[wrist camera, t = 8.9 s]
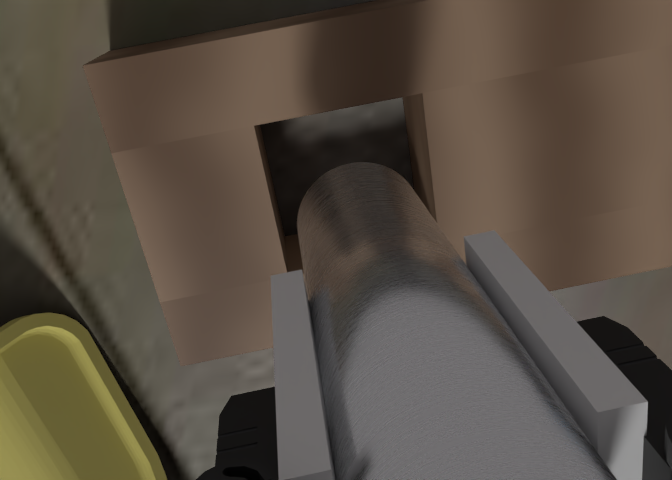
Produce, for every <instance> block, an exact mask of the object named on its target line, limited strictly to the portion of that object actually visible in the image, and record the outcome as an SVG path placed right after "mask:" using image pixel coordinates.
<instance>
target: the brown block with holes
mask: <svg viewBox="0 0 672 480" xmlns="http://www.w3.org/2000/svg"><path fill="white" fill-rule="evenodd" d="M83 68H84V71H85V74H86V77H87V80H88V83H89V86H90V89H91V92H92V95H93V98H94V102H95V105H96V108H97V111H98V114H99V117H100V120H101V123H102V126H103V129H104V132H105V135H106V138H107V141H108V144H109V148H110V151H111V154H112V157H113V160H114V163H115V166H116V169H117V172H118V175H119V178H120V181H121V184H122V187H123V190H124V193H125V197H126V200H127V203H128V206H129V209H130V212H131V215H132V218H133V221H134V224H135V227H136V230H137V233H138V236H139V239H140V243H141V246H142V249H143V252H144V255H145V258H146V261H147V264H148V267H149V270H150V273H151V276H152V279H153V282H154V285H155V288H156V292H157V295H158V298H159V301H160V304H161V307H162V310H163V313H164V316H165V319H166V322H167V325H168V328H169V331H170V334H171V338H172V341H173V344H174V347H175V350H176V353H177V356H178V359H179V362H180V365H181V366H185V365H190V364H195V363H200V362H205V361H210V360H214V359H219V358H224V357H229V356H234V355H239V354H244V353H249V352H254V351H259V350H264V349H268V348H273V325H272V300H271V276H272V275H277V274H282V273H287V272H292V271H297V270H301V269H302V272H303V277H304V271H303V265H302V258H301V251H300V244H299V238H298V234H295V235H290V236H285V235H284V231H283V226H282V222H281V217H280V213H279V208H278V204H277V199H276V195H275V190H274V186H273V181H272V177H271V172H270V168H269V163H268V159H267V154H266V150H265V145H264V141H263V136H262V132H261V127H260V124H266V123H271V122H276V121H281V120H286V119H291V118H297V117H302V116H307V115H312V114H317V113H322V112H328V111H333V110H338V109H343V108H348V107H353V106H359V105H364V104H369V103H374V102H379V101H385V100H390V99H395V98H400V97H403V104H404V112H405V120H406V128H407V136H408V144H409V152H410V160H411V168H412V176H413V184H414V191H415V193H416V194H417V195H418V197H419V198H420V200H421V201H422V203H423V204H424V205H425V207H426V208H427V210H428V211H429V213H430V214H431V215H432V217H433V218H434V220H435V221H436V223H437V224H438V225H439V227H440V228H441V230H442V231H443V233H444V234H445V235H446V237H447V238H448V240H449V241H450V243H451V244H452V245H453V247H454V248H455V250H456V251H457V252H458V254H459V255H460V257H461V258H462V260H463V261H464V262H465V264H466V256H465V246H464V236H469V235H474V234H479V233H484V232H488V231H493V230H495V232H496V233H497V234H498V235H499V236H500V237H501V238H502V239H503V241H504V242H505V243H506V244H507V245H508V246H509V247H510V248H511V249H512V251H513V252H514V253H515V254H516V255H517V256H518V257H519V258H520V259H521V261H522V262H523V263H524V264H525V265H526V266H527V267H528V268H529V269H530V271H531V272H532V273H533V274H534V275H535V276H536V277H537V278H538V280H539V281H540V282H541V283H542V284H543V285H544V286H545V287H546V288H547V290H548V291H553V290H558V289H563V288H568V287H573V286H578V285H582V284H587V283H592V282H597V281H602V280H607V279H612V278H617V277H622V276H627V275H631V274H636V273H641V272H646V271H651V270H656V269H661V268H666V267H671V266H672V0H376V1H371V2H366V3H360V4H355V5H350V6H345V7H339V8H334V9H329V10H323V11H318V12H313V13H307V14H302V15H297V16H291V17H286V18H281V19H276V20H270V21H265V22H260V23H254V24H249V25H244V26H238V27H233V28H228V29H223V30H217V31H212V32H207V33H201V34H196V35H191V36H185V37H180V38H175V39H170V40H164V41H159V42H154V43H148V44H143V45H138V46H132V47H127V48H122V49H117V50H111V51H108V52H107V53H105V54H103V55H101V56H99V57H97V58H96V59H94V60H92V61H90V62H88V63H86V64H85V65H83ZM304 281H305V278H304ZM305 286H306V285H305Z"/></svg>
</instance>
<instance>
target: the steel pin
mask: <svg viewBox="0 0 672 480" xmlns="http://www.w3.org/2000/svg"><path fill="white" fill-rule="evenodd" d="M297 231H298V238H299V244H300V251H301V258H302V265H303V271H304V278H305V285H306V291H307V295H308V300H309V306H310V312H311V319H312V325H313V332H314V339H315V345H316V352H317V358H318V365H319V372H320V378H321V385H322V392H323V398H324V405H325V411H326V418H327V425H328V431H329V438H330V444H331V451H332V458H333V464H334V471H335V478H336V480H617V479H616V478H615V476H614V475H613V474H612V472H611V471H610V469H609V468H608V466H607V465H606V464H605V462H604V461H603V459H602V458H601V456H600V455H599V454H598V452H597V451H596V449H595V448H594V447H593V445H592V444H591V442H590V441H589V439H588V438H587V437H586V435H585V434H584V432H583V431H582V429H581V428H580V427H579V425H578V424H577V422H576V421H575V419H574V418H573V417H572V415H571V414H570V412H569V411H568V409H567V408H566V407H565V405H564V404H563V402H562V401H561V399H560V398H559V397H558V395H557V394H556V392H555V391H554V389H553V388H552V387H551V385H550V384H549V382H548V381H547V379H546V378H545V377H544V375H543V374H542V372H541V371H540V369H539V368H538V367H537V365H536V364H535V362H534V361H533V359H532V358H531V357H530V355H529V354H528V352H527V351H526V349H525V348H524V347H523V345H522V344H521V342H520V341H519V340H518V338H517V337H516V335H515V334H514V332H513V331H512V330H511V328H510V327H509V325H508V324H507V322H506V321H505V320H504V318H503V317H502V315H501V314H500V312H499V311H498V310H497V308H496V307H495V305H494V304H493V302H492V301H491V300H490V298H489V297H488V295H487V294H486V292H485V291H484V290H483V288H482V287H481V285H480V284H479V282H478V281H477V280H476V278H475V277H474V275H473V274H472V272H471V271H470V270H469V268H468V267H467V265H466V264H465V262H464V261H463V260H462V258H461V257H460V255H459V254H458V252H457V251H456V250H455V248H454V247H453V245H452V244H451V243H450V241H449V240H448V238H447V237H446V235H445V234H444V233H443V231H442V230H441V228H440V227H439V225H438V224H437V223H436V221H435V220H434V218H433V217H432V215H431V214H430V213H429V211H428V210H427V208H426V207H425V205H424V204H423V203H422V201H421V200H420V198H419V197H418V195H417V194H416V193H415V191H414V190H413V188H412V187H411V186H410V184H409V183H408V182H407V181H406V180H405V179H404V178H403V177H402V176H401V175H400V174H398V173H397V172H396V171H394V170H392V169H390V168H388V167H386V166H383V165H380V164H376V163H369V162H355V163H349V164H345V165H341V166H339V167H336V168H334V169H332V170H330V171H328V172H327V173H325V174H324V175H322V176H321V177H320V178H318V179H317V180H316V181H315V182H314V183H313V184H312V186H311V187H310V188H309V189H308V191H307V192H306V194H305V196H304V197H303V200H302V202H301V204H300V207H299V211H298V217H297Z"/></svg>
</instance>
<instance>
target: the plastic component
mask: <svg viewBox="0 0 672 480" xmlns="http://www.w3.org/2000/svg"><path fill="white" fill-rule="evenodd" d="M0 480H167V477H166V474H165V472H164V469H163V467H162V464H161V461H160V459H159V456H158V454H157V452H156V450H155V449H154V447H153V445H152V443H151V441H150V440H149V438H148V436H147V434H146V433H145V431H144V429H143V427H142V426H141V424H140V422H139V420H138V418H137V417H136V415H135V413H134V411H133V410H132V408H131V406H130V404H129V403H128V401H127V399H126V397H125V395H124V394H123V392H122V390H121V388H120V387H119V385H118V383H117V381H116V380H115V378H114V376H113V374H112V372H111V371H110V369H109V367H108V365H107V364H106V362H105V360H104V358H103V357H102V355H101V353H100V351H99V349H98V348H97V346H96V344H95V342H94V341H93V339H92V337H91V335H90V334H89V332H88V330H87V329H85V328H84V327H83V326H82V325H81V324H80V323H79V322H77V321H76V320H74V319H72V318H70V317H68V316H65V315H62V314H56V313H39V314H32V315H27V316H22V317H19V318H16V319H14V320H11V321H9V322H8V323H6V324H5V325H3V326H2V327H0Z"/></svg>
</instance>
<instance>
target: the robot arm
mask: <svg viewBox="0 0 672 480" xmlns="http://www.w3.org/2000/svg"><path fill="white" fill-rule="evenodd" d="M464 246H465V256H466V265H467V267H468V268H469V270H470V271H471V272H472V274H473V275H474V277H475V278H476V280H477V281H478V282H479V284H480V285H481V287H482V288H483V290H484V291H485V292H486V294H487V295H488V297H489V298H490V300H491V301H492V302H493V304H494V305H495V307H496V308H497V310H498V311H499V312H500V314H501V315H502V317H503V318H504V320H505V321H506V322H507V324H508V325H509V327H510V328H511V330H512V331H513V332H514V334H515V335H516V337H517V338H518V340H519V341H520V342H521V344H522V345H523V347H524V348H525V349H526V351H527V352H528V354H529V355H530V357H531V358H532V359H533V361H534V362H535V364H536V365H537V367H538V368H539V369H540V371H541V372H542V374H543V375H544V377H545V378H546V379H547V381H548V382H549V384H550V385H551V387H552V388H553V389H554V391H555V392H556V394H557V395H558V397H559V398H560V399H561V401H562V402H563V404H564V405H565V407H566V408H567V409H568V411H569V412H570V414H571V415H572V417H573V418H574V419H575V421H576V422H577V424H578V425H579V427H580V428H581V429H582V431H583V432H584V434H585V435H586V437H587V438H588V439H589V441H590V442H591V444H592V445H593V447H594V448H595V449H596V451H597V452H598V454H599V455H600V456H601V458H602V459H603V461H604V462H605V464H606V465H607V466H608V468H609V469H610V471H611V472H612V474H613V475H614V476H615V478H616V479H617V480H672V370H671V369H670V368H669V367H668V366H667V365H666V364H664V363H663V362H662V361H661V360H660V359H657V356H656V355H655V354H654V353H653V352H652V351H651V350H650V349H649V348H648V347H647V346H644V344H643V342H642V341H641V340H640V339H639V338H638V337H637V336H636V335H635V334H634V333H633V332H632V331H631V330H630V329H629V328H628V327H626V326H624V325H621V324H619V323H617V322H615V321H613V320H611V319H609V318H607V317H605V316H602V317H597V318H592V319H587V320H583V321H578V322H576V321H575V320H574V319H573V317H572V316H571V315H570V314H569V313H568V312H567V311H566V310H565V309H564V307H563V306H562V305H561V304H560V303H559V302H558V301H557V300H556V298H555V297H554V296H553V295H552V294H551V293H550V292H549V291H548V290H547V288H546V287H545V286H544V285H543V284H542V283H541V282H540V281H539V280H538V278H537V277H536V276H535V275H534V274H533V273H532V272H531V271H530V269H529V268H528V267H527V266H526V265H525V264H524V263H523V262H522V261H521V259H520V258H519V257H518V256H517V255H516V254H515V253H514V252H513V251H512V249H511V248H510V247H509V246H508V245H507V244H506V243H505V242H504V241H503V239H502V238H501V237H500V236H499V235H498V234H497V233H496V232H495V230H493V231H488V232H484V233H479V234H474V235H469V236H464ZM271 300H272V325H273V350H274V375H275V387H271V388H267V389H262V390H257V391H252V392H247V393H243V394H238V395H233V396H231V397H230V399H229V401H228V402H227V404H226V406H225V407H224V409H223V410H222V412H221V414H220V416H219V428H218V440H217V455H216V463H215V467H213V468H211V469H209V470H207V471H205V472H204V473H203V474H202V475H201V476H199V477H198V478H197V479H196V480H336V478H335V471H334V464H333V458H332V451H331V444H330V438H329V431H328V425H327V418H326V411H325V405H324V398H323V392H322V385H321V378H320V372H319V365H318V358H317V352H316V345H315V339H314V332H313V325H312V319H311V312H310V306H309V300H308V295H307V291H306V286H305V281H304V277H303V272H302V269H301V270H297V271H292V272H287V273H282V274H277V275H272V276H271Z"/></svg>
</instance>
